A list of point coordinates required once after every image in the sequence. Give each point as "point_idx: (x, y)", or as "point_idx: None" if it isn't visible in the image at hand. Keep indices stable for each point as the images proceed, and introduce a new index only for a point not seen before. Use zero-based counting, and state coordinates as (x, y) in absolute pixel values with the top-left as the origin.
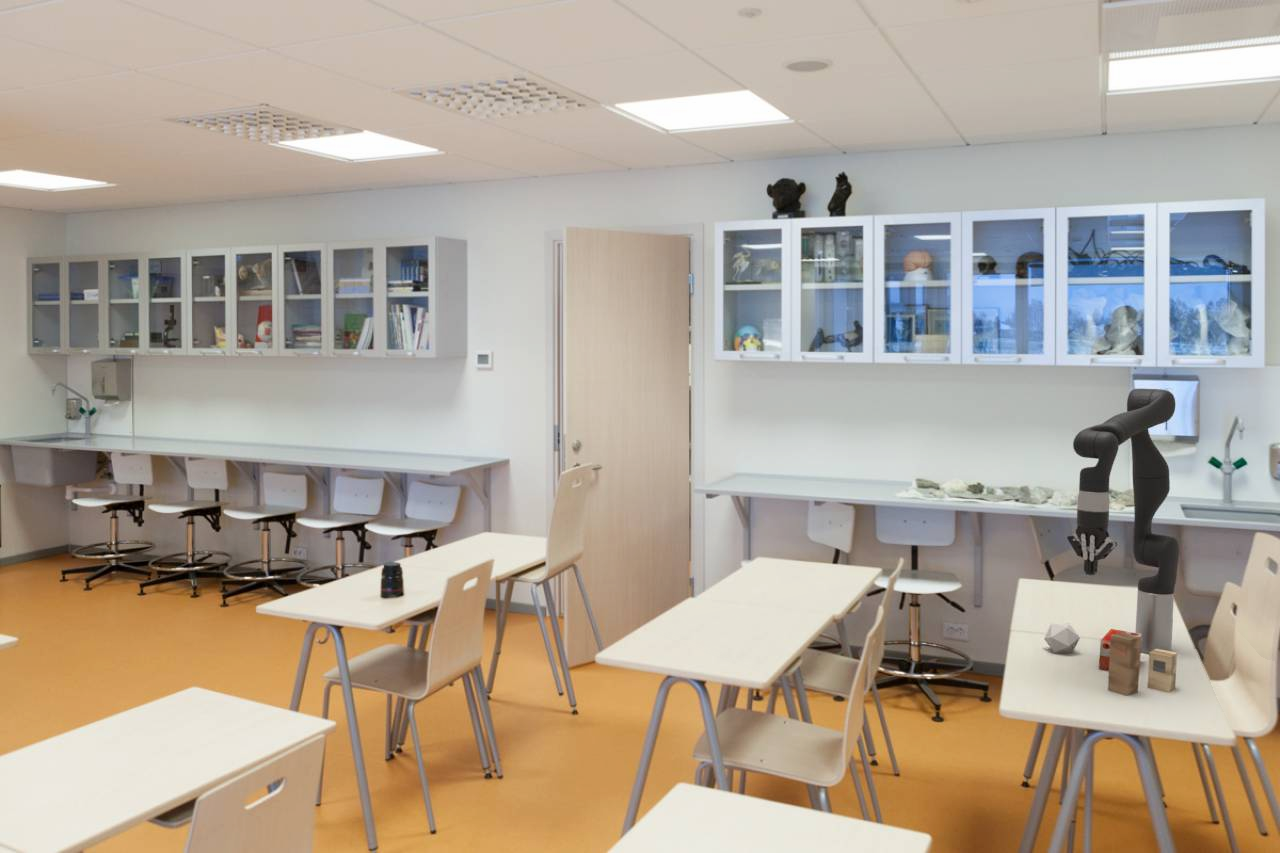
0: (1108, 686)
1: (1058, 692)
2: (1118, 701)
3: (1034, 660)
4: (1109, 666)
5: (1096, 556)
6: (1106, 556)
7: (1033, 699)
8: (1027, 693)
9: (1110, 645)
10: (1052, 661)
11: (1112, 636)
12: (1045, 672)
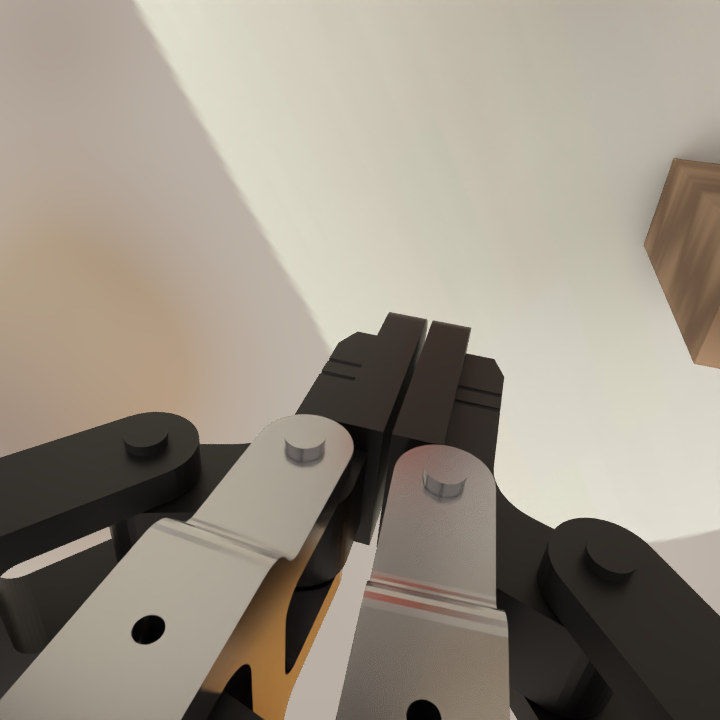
0: (647, 250)
1: (502, 392)
2: None
3: (252, 80)
4: (662, 285)
5: (510, 694)
6: (701, 611)
7: None
8: None
9: (682, 333)
10: (304, 21)
11: (705, 363)
12: (367, 211)
